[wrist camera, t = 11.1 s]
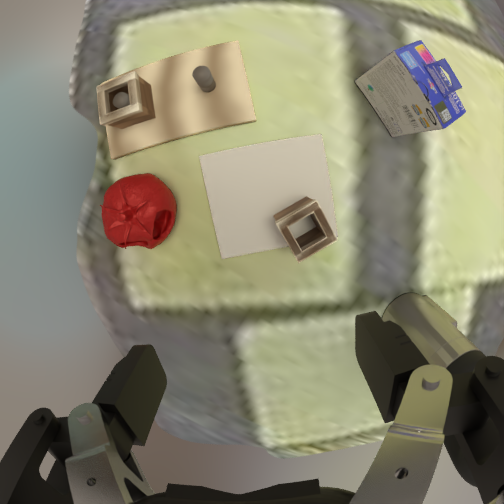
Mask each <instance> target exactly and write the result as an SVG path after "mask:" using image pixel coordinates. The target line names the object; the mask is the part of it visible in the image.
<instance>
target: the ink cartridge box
mask: <svg viewBox="0 0 504 504" xmlns="http://www.w3.org/2000/svg"><path fill="white" fill-rule="evenodd" d="M439 66H441V67H442V68H443V69H444V70H445V71H446V72H447V73H448V74H449V77H450V79H451V83H452V85H451V84H450V82H449V80H448V79H447V77H446V76H445V74H444V73H443V71H442V70H441V68H440V67H439ZM355 83H356V84H357V85H358V87H359V88H360V89H361V91H362V92H363V94H364V95H365V96H366V98H367V99H368V101H369V102H370V103H371V105H372V106H373V108H374V109H375V111H376V112H377V114H378V115H379V117H380V118H381V120H382V121H383V123H384V125H385V126H386V128H387V129H388V131H389V133H390V134H391V136H392V137H397V136H402V135H407V134H413V133H418V132H425V131H432V130H439V129H444V128H446V127H447V126H449V125H450V124H451V123H453V122H454V121H455V120H457V119H458V118H459V117H461V116H462V115H463V114H464V113H465V112H466V110H465V108H464V107H463V105H462V103H461V101H460V99H459V97H458V96H457V94H456V92H455V91H456V90H458V89H460V88H462V86H461V84H460V83H459V81H458V79H457V78H456V76H455V74H454V72H453V71H452V69H451V67H450V66H449V64H448V63H447V61H446V60H445V58H444V59H441V60H439V61H435V59H434V58H433V56H432V55H431V53H430V52H429V51H428V49H427V48H426V46H425V45H424V44H423V42H422V41H421V40H419V41H416V42H414V43H411V44H409V45H406V46H404V47H401V48H399V49H397V50H394V51H393V52H391V53H390V54H389V55H387V56H386V57H385V58H384V59H382V60H381V61H380V62H378V63H377V64H376V65H374V66H373V67H372V68H371V69H369V70H368V71H367V72H365V73H364V74H363V75H362V76H360V77H359V78H358V79H356V80H355Z"/></svg>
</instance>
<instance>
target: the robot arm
mask: <svg viewBox="0 0 504 504" xmlns="http://www.w3.org/2000/svg"><path fill="white" fill-rule="evenodd" d="M355 350H356V357H357V361H358V363H359V366H360V368H361V370H362V372H363V374H364V376H365V379H366V381H367V383H368V385H369V388H370V390H371V392H372V394H373V397H374V399H375V401H376V403H377V406H378V408H379V410H380V413H381V415H382V417H383V420H384V422H385V423H388V422H391V421H394V422H393V425H392V426H390V428H389V430H388V432H387V434H386V436H385V438H384V441H383V443H382V445H381V447H380V449H379V451H378V453H377V455H376V457H375V459H374V461H373V463H372V465H371V467H370V469H369V471H368V473H367V474H366V476H365V478H364V480H363V481H362V483H361V485H360V487H359V488H358V490H357V492H356V493H354V492H351V491H347V490H344V489H339V488H332V487H320V486H319V480H318V479H313V480H307V481H301V482H293V483H285V484H278V485H275V486H271V487H268V488H264V489H261V490H257V491H253V492H249V493H245V494H232V493H227V492H223V491H219V490H214V489H210V488H207V487H203V486H191V485H179V484H169V483H168V485H167V490H166V492H163V493H157V494H155V493H154V492H153V490H152V489H151V487H150V486H149V484H148V482H147V480H146V478H145V476H144V474H143V472H142V470H141V468H140V466H139V464H138V462H137V459H136V457H135V455H134V453H133V452H132V451H131V448H132V445H139V446H145V443H146V440H147V437H148V434H149V431H150V429H151V426H152V423H153V421H154V418H155V415H156V413H157V410H158V407H159V405H160V402H161V399H162V397H163V394H164V392H165V389H166V385H167V379H166V374H165V372H164V369H163V367H162V365H161V363H160V361H159V358H158V356H157V354H156V351H155V349H154V347H153V346H152V345H134V346H133V347H132V348H131V350H130V351H129V353H128V354H127V356H126V357H124V358H123V359H122V360H121V361H120V362H118V363H117V364H116V365H115V367H114V368H113V370H112V371H111V374H110V375H109V376H108V378H107V381H105V382H104V384H103V386H102V387H101V389H100V391H99V392H98V394H97V395H96V397H95V398H94V400H93V402H92V403H84V404H81V405H79V406H77V407H76V408H74V409H73V410H72V411H71V412H70V414H69V416H68V417H60V418H56V417H55V415H54V414H53V413H52V411H51V410H50V409H48V408H40V409H37V410H35V411H34V412H33V413H31V414H30V415H29V417H28V418H27V420H26V421H25V423H24V424H23V426H22V428H21V429H20V431H19V432H18V434H17V435H16V437H15V439H14V440H13V442H12V443H11V445H10V447H9V448H8V450H7V452H6V453H5V455H4V457H3V458H2V460H1V462H0V504H422V503H423V501H424V498H425V496H426V493H427V491H428V488H429V486H430V483H431V480H432V478H433V475H434V472H435V469H436V466H437V462H438V459H439V456H440V453H441V449H442V445H443V443H444V445H445V447H446V449H447V451H448V453H449V455H450V458H451V460H452V462H453V464H454V466H455V468H456V469H457V471H458V472H459V474H460V475H461V477H463V479H464V480H465V481H466V482H468V483H469V484H471V485H473V486H476V487H477V488H478V490H479V493H480V495H481V498H482V501H483V503H484V504H504V360H503V359H502V358H499V357H496V356H487V357H486V356H485V355H484V354H483V353H482V352H481V351H480V350H479V349H478V348H477V347H476V346H475V345H474V344H473V343H472V342H471V341H470V340H469V339H468V338H467V337H466V336H465V335H463V334H462V333H461V332H460V331H459V330H458V329H457V321H456V320H455V319H454V318H452V317H451V316H450V315H449V314H448V313H447V312H446V311H445V310H443V309H442V308H441V307H440V306H439V305H438V304H436V303H435V302H434V301H433V300H432V299H431V298H429V297H428V296H427V295H426V296H421V295H419V294H417V293H407V294H403V295H401V296H399V297H398V298H396V299H395V300H394V301H393V302H392V303H391V304H390V305H389V306H388V307H387V309H386V310H385V312H384V314H383V317H382V319H381V317H380V316H379V315H378V313H377V312H376V311H373V312H369V313H364V314H360V315H357V316H356V319H355ZM47 451H49V453H50V454H51V455H52V456H53V457H54V458H55V459H56V461H55V463H54V465H53V467H52V469H51V471H50V474H49V476H48V478H47V480H46V481H45V480H44V479H43V478H42V477H41V476H40V473H39V467H40V465H41V463H42V460H43V458H44V457H45V455H46V453H47Z"/></svg>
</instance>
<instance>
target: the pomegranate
mask: <svg viewBox="0 0 504 504" xmlns="http://www.w3.org/2000/svg"><path fill="white" fill-rule="evenodd" d="M100 206H102V205H100ZM175 216H176V201H175V198H174V196H173V194H172V192H171V191H170V189H169V188H167V186H166V185H165V184H164V183H163V182H162V181H161V180H160V179H159V178H157V177H156V176H154V175H152V174H149V173H146V174H138V175H133V176H129V177H124V178H121V179H119V180H118V181H116V182H115V183H114V184H113V185H111V186H110V187H109V188H108V190H107V191H106V193H105V195H104V203H103V206H102V219H103V225H104V230H105V234H106V236H107V238H108V239H109V240H111V241H112V242H113V243H114V244H116V245H117V246H119V247H122V248H124V247H125V249H126V247H127V246H135V245H136V246H137V245H139V246H143V247H146V248H149V249H152V248H154V247H156V246H157V245H159V244H161V243H162V242H163V241H164V240H165V239H166V238H167V236H168V235H169V233H170V232H171V230H172V228H173V226H174V223H175Z"/></svg>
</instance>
